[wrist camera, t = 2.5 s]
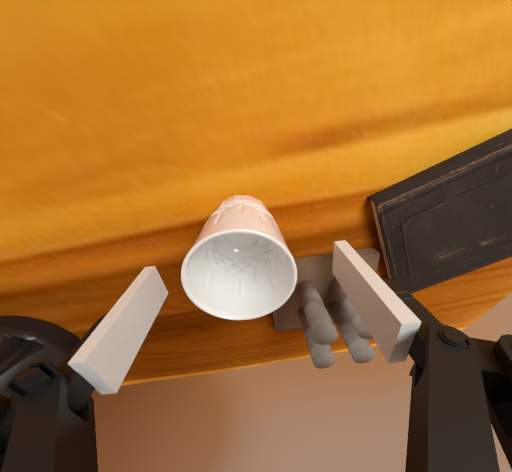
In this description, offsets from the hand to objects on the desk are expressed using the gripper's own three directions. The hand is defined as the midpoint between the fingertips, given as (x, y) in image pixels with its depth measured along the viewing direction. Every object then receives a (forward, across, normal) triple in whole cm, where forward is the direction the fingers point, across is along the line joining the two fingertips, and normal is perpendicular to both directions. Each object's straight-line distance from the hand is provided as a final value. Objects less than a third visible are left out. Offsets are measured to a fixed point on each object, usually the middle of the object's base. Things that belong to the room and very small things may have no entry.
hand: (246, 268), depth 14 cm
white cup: (+9, +1, 0) cm, 9 cm away
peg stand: (+9, -8, +12) cm, 17 cm away
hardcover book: (+10, -27, +3) cm, 29 cm away
